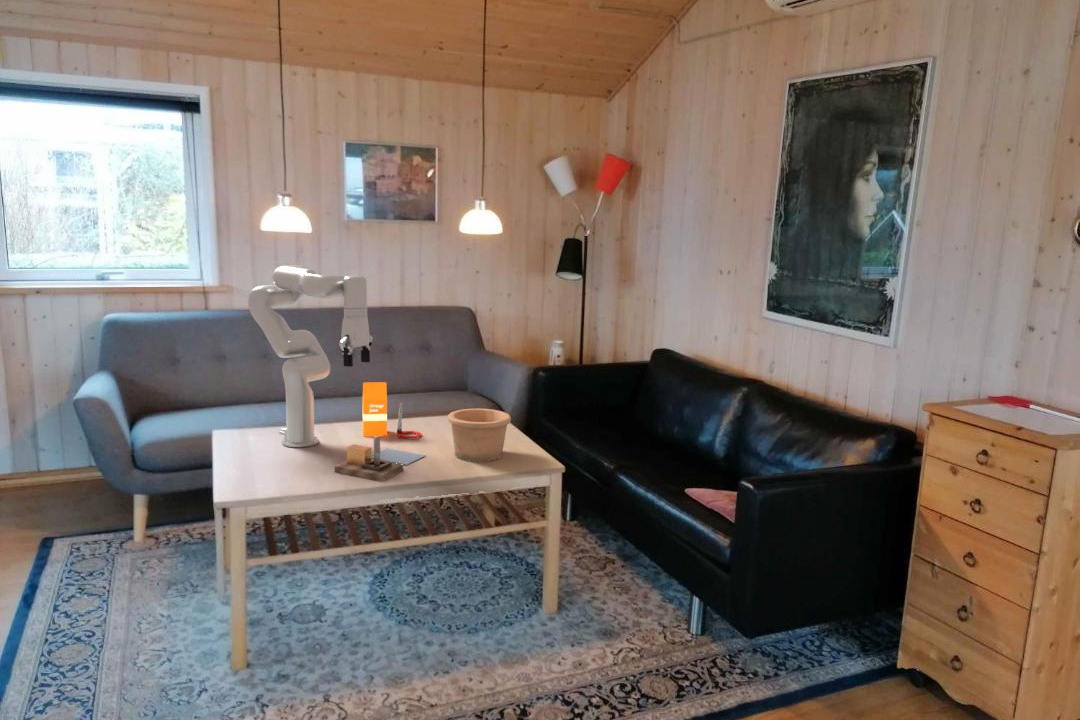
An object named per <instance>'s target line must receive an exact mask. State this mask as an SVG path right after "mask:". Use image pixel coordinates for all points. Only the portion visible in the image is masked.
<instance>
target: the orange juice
mask: <svg viewBox="0 0 1080 720" xmlns="http://www.w3.org/2000/svg"><path fill="white" fill-rule="evenodd" d="M387 391H388V390H387V381H386V382H384V381H383V382H379V381H378V382H377V381H376V382H375V381H374V382H363V383H362V437H363V436H365V437H374V436H380V435H381V436H380V437H384V436H383V435H387V436H388V433H387V432H388V427H387V426H388V395H387V393H388V392H387Z"/></svg>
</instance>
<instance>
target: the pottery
mask: <svg viewBox="0 0 1080 720" xmlns="http://www.w3.org/2000/svg"><path fill="white" fill-rule="evenodd" d="M447 420H448V423H450V424H451V431H452V440H453V447H454V449H453V450H454V455H455V457H456V456H457V457H456V458H458V459H459V458H461V459H460V460H462V459H464V460H463V461H465V460H470V461H469V462H471V461H488V460H489V461H488V462H491V461H490V460H493V461H495V460H494V459H497V458H499V457H500V458H501V457H502V456H503V451H504V445H505V438H506V432H507V428H508V425H509V424H510V422H511V420H512V417H511V415H510V414H509V413H507V412H505V411H502V410H496V409H491V408H477V407H476V408H463V409H458V410H454V411H451V412H450V413H449V414H448V415H447ZM501 455H502V456H501ZM500 458H499V459H500ZM497 460H498V459H497Z"/></svg>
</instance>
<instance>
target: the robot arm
mask: <svg viewBox="0 0 1080 720" xmlns="http://www.w3.org/2000/svg"><path fill="white" fill-rule="evenodd" d="M271 278H272V282H273V284H265V285H259V286H256V287H254V288H252V289H251V290H250V292H249V294H248V296H247V304H248V306H247V307H248V309H249V312H250V314H251V316H252V318H253V319H254V321H255V322H256V324H258V326H259V327H260V328H261V330H262V332H263V333H264V335H265V337H266V339H267V341H268V342H269V344H270V346H271V348H272V349H273V350H274V352H275V354H276V355H277V356H278V357H279V358H282V359H286V361H284V363H283V365H282V367H281V368H282V369H281V370H282V371H281V372H282V377H283V382H284V388H285V389H284V390H285V415H286V418H285V420H286V421H285V423H286V428H285V427H282V428H281V430H280V431H278V434H279V435H280V436H284V438H283V439H282V440H281V443H282V445H283V446H285V447H290V448H305V447H306V448H307V447H312V446H315V445H317V444H318V443H319V438H318V437H317V436H315V398H314V391H313V389H312V387H311V386H310V384H309V383H310V382H314V381H319V380H323V379H325V378H327V377H328V376H329V375H330V373H331V363H330V361H329V359H328V356H327V354H326V353H325V351H324V350H323V347H322V346H321V344H320V342H319V341H318V338H316V336H315V335H314V334H313V332H311V331H309V330H306V329H297V330H296V329H295V330H293V329H291V328H290V327H289V324H288V323H287V321H286V320H285V319H284V317H283V316H282V315H281V314H279V313H278V312H276V311H275V310H274V309H281V308H291V307H293V306H295V305H296V304H298V302H299V301H300V300H301V299H302V298H303V296H308V297H313V298H314V297H315V298H320V299H327V298H328V299H331V298H343V318H342V324H341V332H340V333H341V335H340V336H341V338H340V339H341V340H340V341H339V342H338V345H339V347H340V351H341V354H342V355H343V367H350V368H351V367H353V366H354V363H353V361H354V360H353V357H354V356H353V354H352V353H353V350H354V349H357V348H358V349H359V348H360V349H361V350H360V360H361V361H360V362H362V363H370V362H371V353H370V352H371V350H372V349H371V347H372V345H373V344H372V343H373V339H374V338H373V337H374V336H373V335H371V334H370V327H369V319H368V296H367V295H368V292H367V291H368V290H367V288H368V287H367V284H368V283H367V279H366V277H365V276H362V275H349V274H318V273H317V272H316V271H315V270H314V269H312V268H309V267H308V266H306V265H301V264H298V265H297V264H296V265H295V264H294V265H282V266H279V267H277V268H276V269H275V270H274V271H273V272H272V277H271Z"/></svg>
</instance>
